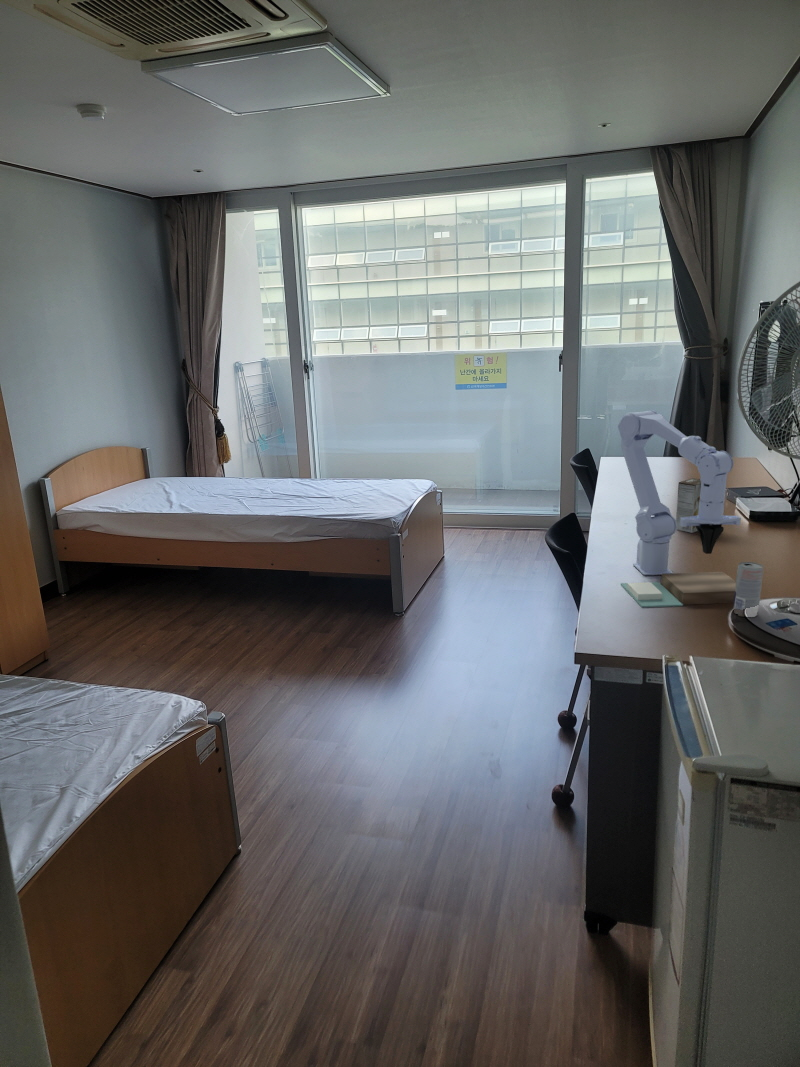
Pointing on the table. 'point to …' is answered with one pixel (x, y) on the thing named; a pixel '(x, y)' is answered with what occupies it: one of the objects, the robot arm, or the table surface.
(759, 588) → the energy drink
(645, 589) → the cream tile
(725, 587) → the block
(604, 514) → the table surface
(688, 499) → the coffee box
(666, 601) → the teal mat
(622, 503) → the table surface
